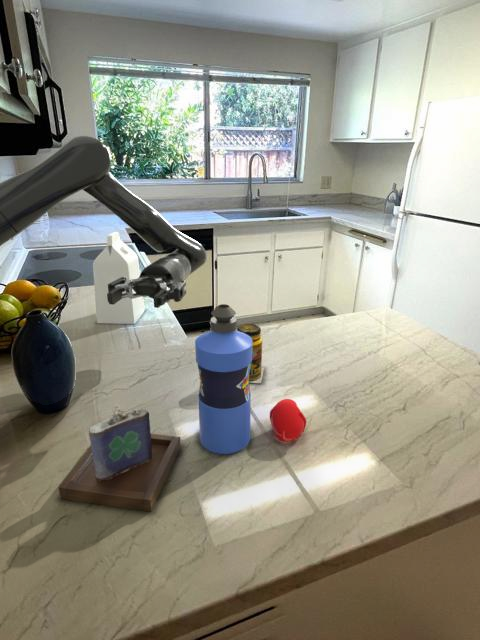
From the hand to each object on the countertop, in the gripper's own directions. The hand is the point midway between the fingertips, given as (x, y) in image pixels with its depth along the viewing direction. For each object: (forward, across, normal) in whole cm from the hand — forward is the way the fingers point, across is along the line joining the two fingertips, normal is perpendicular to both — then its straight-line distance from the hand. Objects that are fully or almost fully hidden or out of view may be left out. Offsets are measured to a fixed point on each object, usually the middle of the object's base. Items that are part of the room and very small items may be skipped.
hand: (132, 300), depth 71 cm
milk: (-48, -26, +23) cm, 59 cm away
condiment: (-18, +18, +23) cm, 34 cm away
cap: (+2, +29, +23) cm, 37 cm away
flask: (+16, +4, +22) cm, 28 cm away
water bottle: (+5, +18, +23) cm, 30 cm away
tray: (+16, +4, +23) cm, 28 cm away
